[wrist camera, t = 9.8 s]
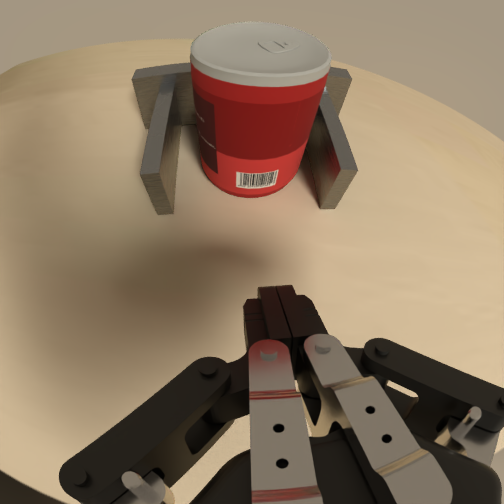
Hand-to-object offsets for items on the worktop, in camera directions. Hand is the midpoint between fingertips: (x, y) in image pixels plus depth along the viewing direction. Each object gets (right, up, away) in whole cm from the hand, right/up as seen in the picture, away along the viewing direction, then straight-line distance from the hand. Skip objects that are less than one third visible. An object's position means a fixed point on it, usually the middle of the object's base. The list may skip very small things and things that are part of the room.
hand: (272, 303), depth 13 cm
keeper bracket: (-2, +10, +10) cm, 15 cm away
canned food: (-1, +10, +10) cm, 14 cm away
